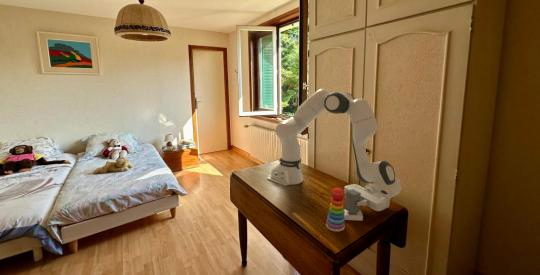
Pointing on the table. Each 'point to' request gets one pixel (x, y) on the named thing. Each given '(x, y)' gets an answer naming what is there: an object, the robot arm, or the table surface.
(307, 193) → the table surface
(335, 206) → the stacking toy
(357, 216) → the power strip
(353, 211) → the gray rectangular block
